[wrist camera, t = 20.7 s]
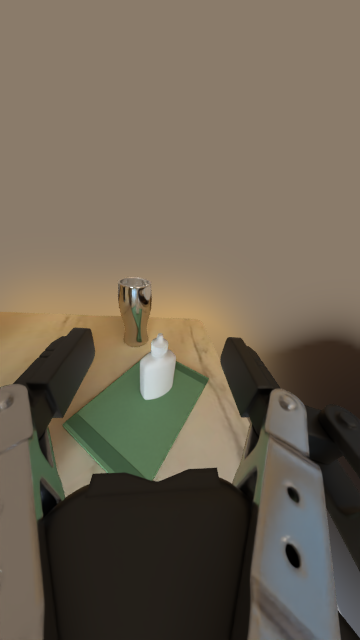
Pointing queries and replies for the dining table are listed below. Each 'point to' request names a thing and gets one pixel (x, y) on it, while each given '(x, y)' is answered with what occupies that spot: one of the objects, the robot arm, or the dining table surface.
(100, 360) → the dining table surface
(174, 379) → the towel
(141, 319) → the beer glass
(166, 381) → the eye dropper bottle
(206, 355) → the dining table surface
